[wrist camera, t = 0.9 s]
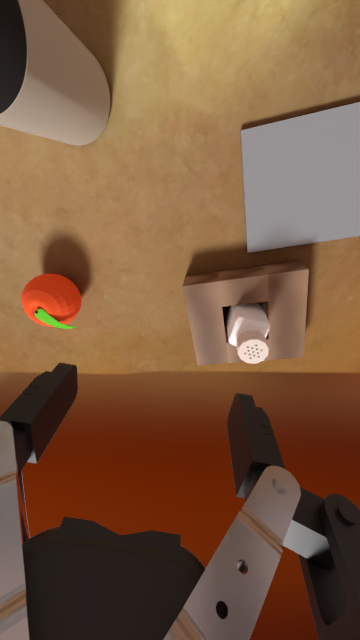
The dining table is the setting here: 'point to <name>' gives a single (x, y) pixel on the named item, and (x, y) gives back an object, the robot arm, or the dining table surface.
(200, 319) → the shaker holder
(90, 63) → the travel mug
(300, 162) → the placemat
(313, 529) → the robot arm
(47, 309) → the clementine
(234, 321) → the salt shaker
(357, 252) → the dining table surface
